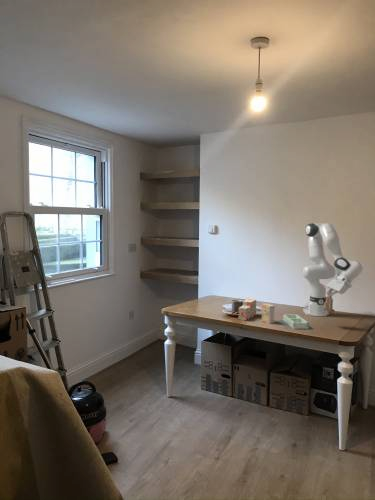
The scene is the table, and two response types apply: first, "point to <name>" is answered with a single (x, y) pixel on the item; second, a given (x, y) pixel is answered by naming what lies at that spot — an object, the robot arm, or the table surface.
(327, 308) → the tan wooden tall piece
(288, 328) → the mat
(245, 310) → the stack of blocks
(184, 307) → the table surface
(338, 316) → the table surface
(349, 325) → the table surface
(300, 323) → the rack
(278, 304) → the table surface
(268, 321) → the supplement box
